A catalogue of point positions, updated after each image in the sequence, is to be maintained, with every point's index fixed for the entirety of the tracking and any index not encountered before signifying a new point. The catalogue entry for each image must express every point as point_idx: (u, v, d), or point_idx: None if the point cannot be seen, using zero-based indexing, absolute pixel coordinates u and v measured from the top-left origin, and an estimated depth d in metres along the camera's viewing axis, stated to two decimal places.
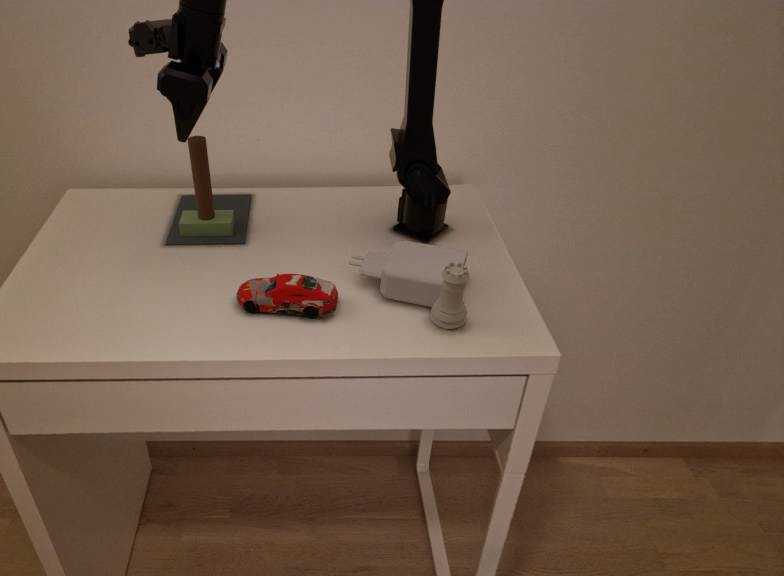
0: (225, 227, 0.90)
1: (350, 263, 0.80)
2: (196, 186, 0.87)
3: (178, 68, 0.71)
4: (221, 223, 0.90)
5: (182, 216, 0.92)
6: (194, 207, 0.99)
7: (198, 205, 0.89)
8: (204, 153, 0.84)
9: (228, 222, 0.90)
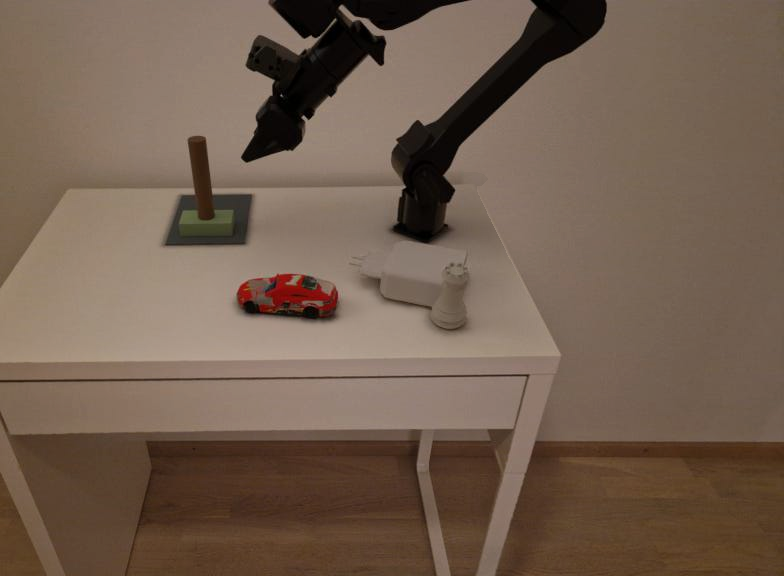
0: (225, 227, 0.90)
1: (350, 263, 0.80)
2: (196, 186, 0.87)
3: (285, 109, 0.72)
4: (221, 223, 0.90)
5: (182, 216, 0.92)
6: (194, 207, 0.99)
7: (198, 205, 0.89)
8: (204, 153, 0.84)
9: (228, 222, 0.90)
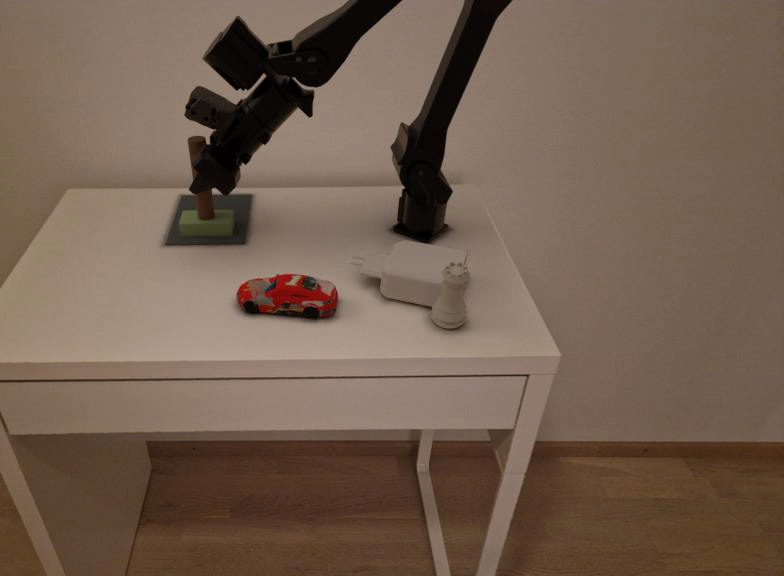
0: (225, 227, 0.90)
1: (350, 263, 0.80)
2: None
3: (218, 158, 0.77)
4: (221, 223, 0.90)
5: (182, 216, 0.92)
6: (194, 207, 0.99)
7: (198, 205, 0.89)
8: None
9: (228, 222, 0.90)
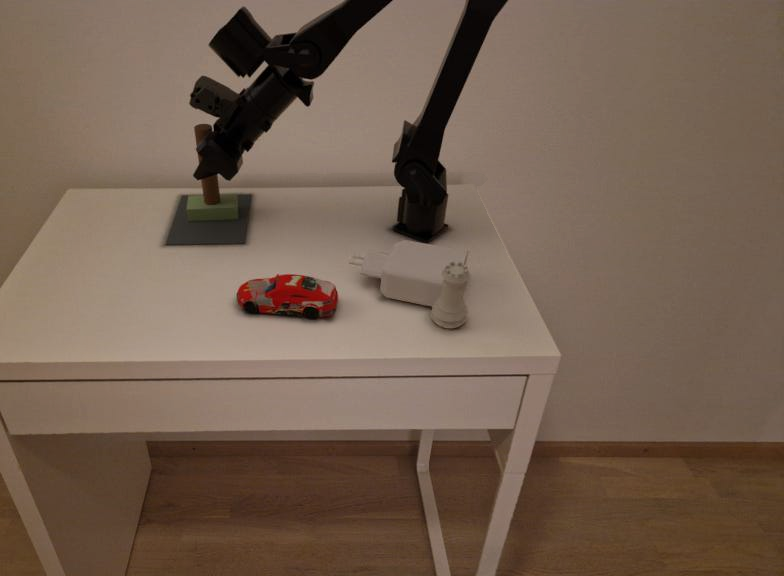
0: (231, 211, 0.94)
1: (350, 262, 0.80)
2: None
3: (221, 144, 0.81)
4: (227, 207, 0.94)
5: (188, 201, 0.95)
6: None
7: (205, 191, 0.93)
8: None
9: (234, 206, 0.94)
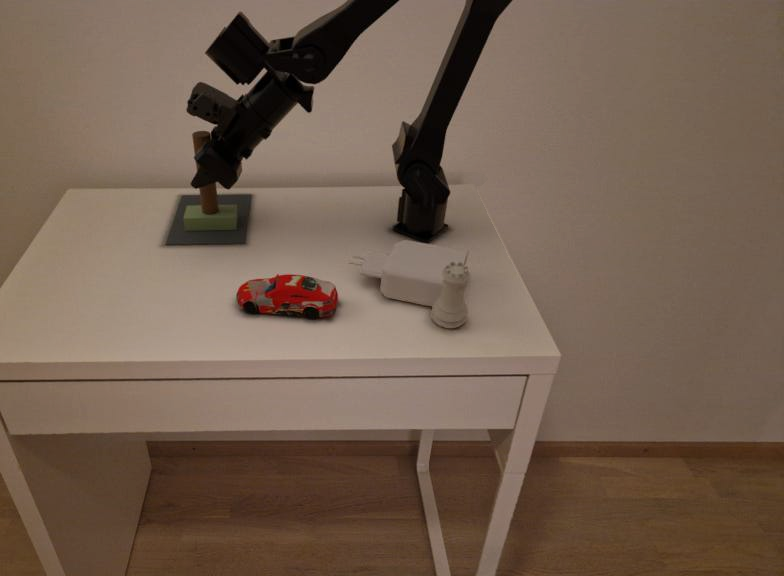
0: (230, 221, 0.92)
1: (350, 262, 0.80)
2: None
3: (220, 152, 0.79)
4: (225, 217, 0.91)
5: (186, 211, 0.93)
6: None
7: (202, 200, 0.91)
8: None
9: (232, 216, 0.91)
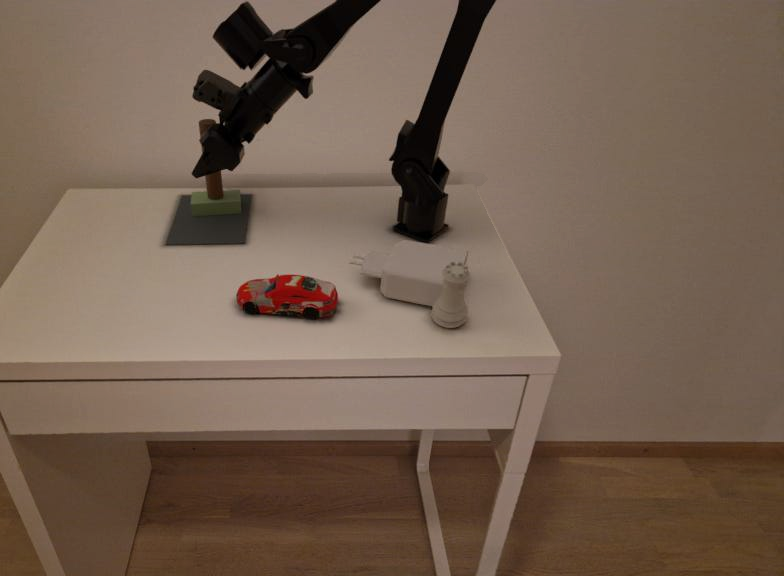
0: (235, 205, 0.96)
1: (351, 262, 0.80)
2: None
3: (224, 136, 0.83)
4: (230, 201, 0.96)
5: (192, 197, 0.97)
6: None
7: (208, 185, 0.95)
8: None
9: (237, 201, 0.96)
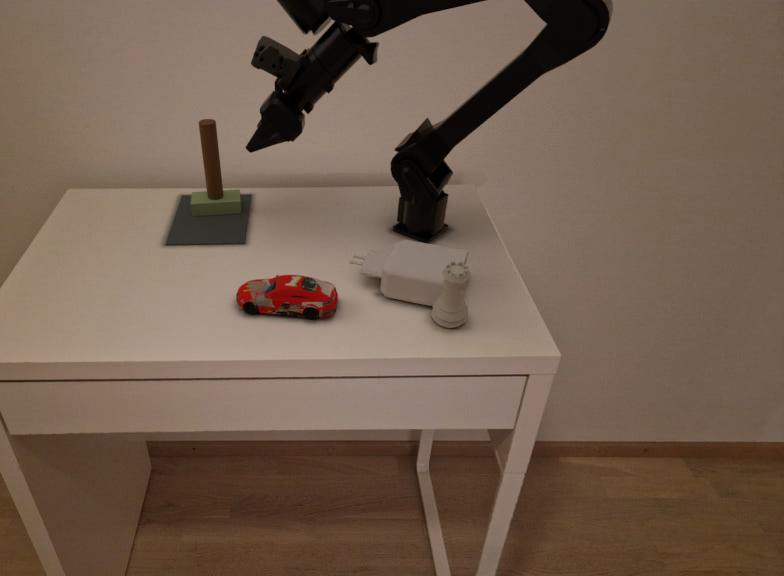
0: (235, 205, 0.96)
1: (351, 262, 0.81)
2: (207, 167, 0.93)
3: (286, 103, 0.79)
4: (230, 201, 0.96)
5: (192, 197, 0.97)
6: None
7: (208, 185, 0.95)
8: (215, 135, 0.90)
9: (237, 201, 0.96)
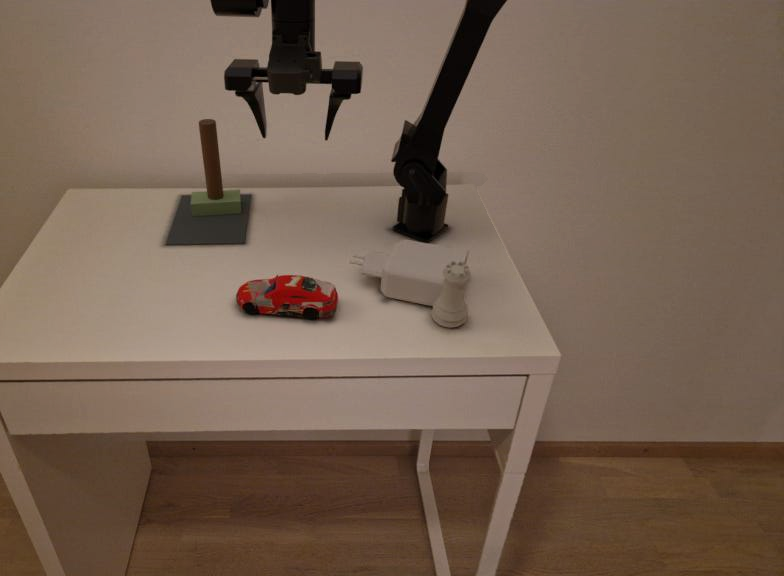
0: (235, 205, 0.96)
1: (351, 262, 0.81)
2: (207, 167, 0.93)
3: (351, 67, 0.79)
4: (230, 201, 0.96)
5: (192, 197, 0.97)
6: None
7: (208, 185, 0.95)
8: (215, 135, 0.90)
9: (237, 201, 0.96)
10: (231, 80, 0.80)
